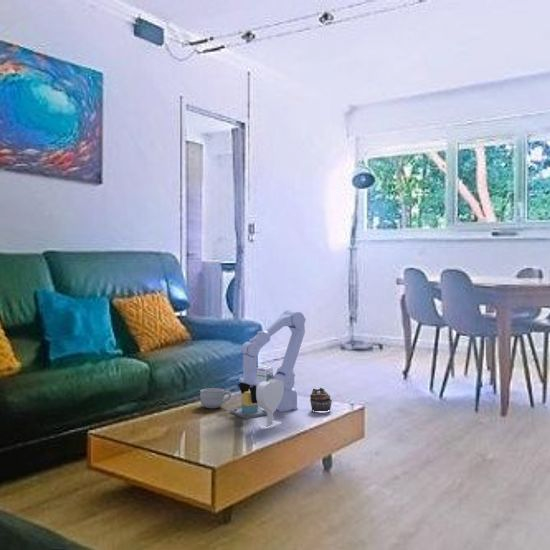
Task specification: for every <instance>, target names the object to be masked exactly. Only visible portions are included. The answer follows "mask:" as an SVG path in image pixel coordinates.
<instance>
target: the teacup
mask: <svg viewBox="0 0 550 550" xmlns="http://www.w3.org/2000/svg"><path fill="white" fill-rule="evenodd" d="M199 392H200V404H201V405H202V406H203V407H204V408H205V407H206V409H218V408H220V407H222V405H223V404H225V403H226V402H228V401H229V400H230V399H231V398H232V393H231V392H230V391H229V390H224V389H223V388H218V387H217V388H216V387H215V388H214V387H213V388H212V387H211V388H204V389H200V390H199ZM226 394H228V397H227V398H226V399H224V398H225V395H226Z"/></svg>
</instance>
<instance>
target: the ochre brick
mask: <svg viewBox="0 0 550 550" xmlns="http://www.w3.org/2000/svg"><path fill="white" fill-rule="evenodd" d="M242 404H243V405H246V406H252V405H258V406H259V404H258V402H257V403H252V399H251V392H250V390H249V391H247V392H244V393H242V394H241V405H242Z"/></svg>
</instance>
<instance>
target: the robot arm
mask: <svg viewBox="0 0 550 550" xmlns="http://www.w3.org/2000/svg"><path fill="white" fill-rule="evenodd" d="M306 320H307V319H306V317H305V316H304V314H303V313H302V312H301V311H293V310H289V309H288V310H285V311H283V313H280V314H279V317H278V318H277V319H276V320H275V321H274V322H273V323H272V324H271V325H270V326H269V327H268V328H266V329H265V330H259V331H257V332H256V335H255V336H253V337H252V338H250V339H249V341H246V342H244V343H243V344H242V346H241V348H240V351H241V354H242V358H243V359H242V361H243V363H242V365H243V366H242V369H243V374H242V375H243V376H241V377H240V376H239V379H238V380H239V381H238V383H237V386H238V388H239V390H240V393H241V395H242V393H244V392H247V391H250V392H251V399H252V403H257V399H256V388H257V386H258V385H259V384H260V382H259V381H257V368H258V367H257V364H258V363H257V362H258V361H257V358H258V355H259V353H260V350H261V349H262V348H263V347H264V346H265V345H267V344H268V343H269V342H270V341H271V337H272V336H273V335H274V334H276V333H277V332H278V331H280V330H281V329H283V327H288V328H289V330H290V332H291V335H290V338H289V342H288V344H287V348H286V351H285V354H284V356H283V360H282V362H281V366H279V367H278V368H277V370H276V372H275V373H274V374H273V379H276V380H282V381H283V382H284V393H283V397H282V400H281V402H280V404H279V406H278V407H277V410H276V411H278V410H279V411H278V412H281V411H282V412H285V411H284V410H288V411H291V410H290V409H294V410H297V409H296V408H298V393H297V390H296V389H295V388H294V386H295V377H296V373H295V371H294V368H295V365H296V362H297V358H298V355H299V352H300V349H301V346H302V342H303V341H304V336H305V332H306V330H305V323H306Z"/></svg>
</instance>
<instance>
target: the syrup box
mask: <svg viewBox="0 0 550 550" xmlns="http://www.w3.org/2000/svg"><path fill="white" fill-rule="evenodd" d="M273 376H274V367H273V366H269V365H264V366H263V365H262V366H259V367H257V381H259V382H260V383H261V382H263V381H267V382H268V380H269V379H273Z"/></svg>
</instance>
